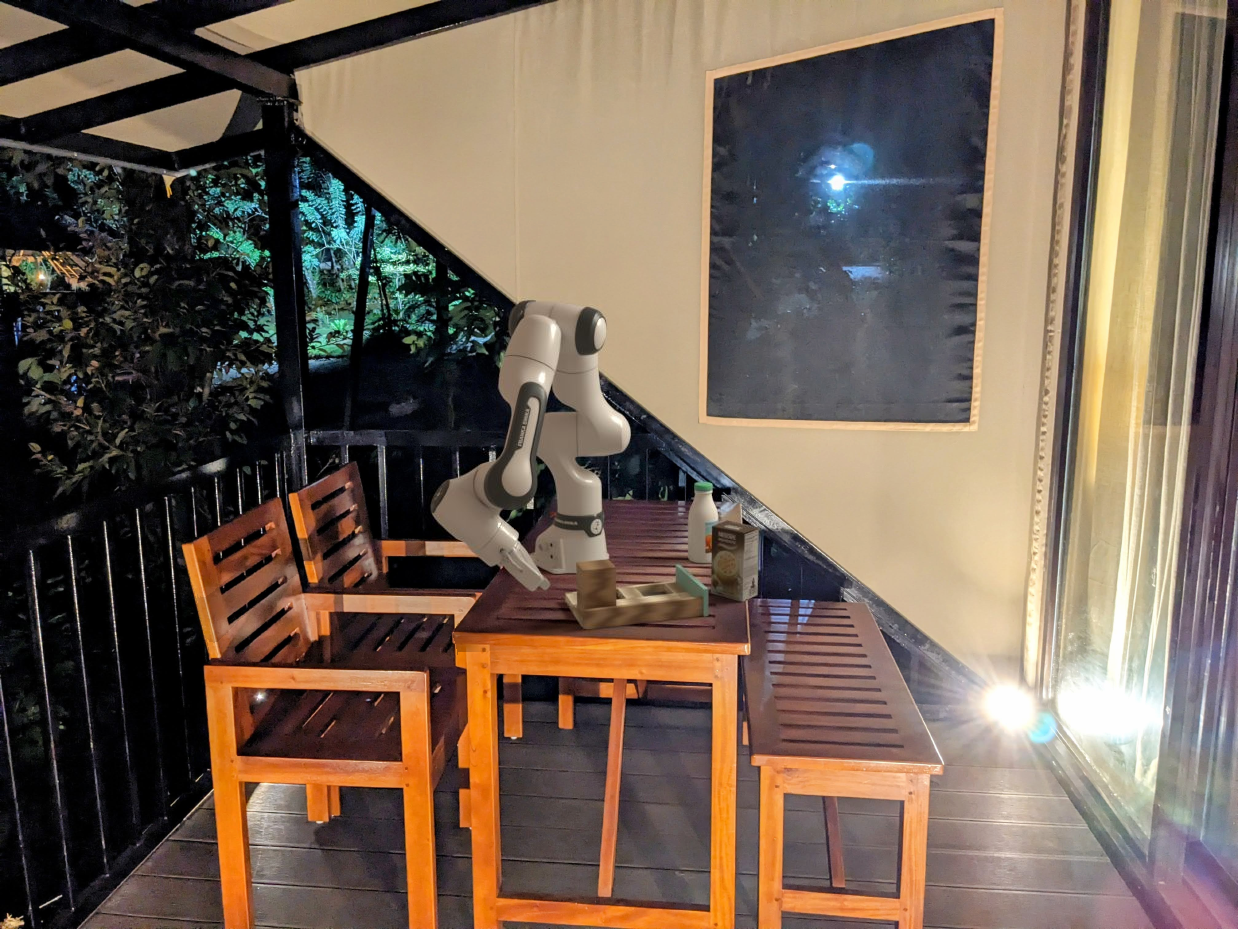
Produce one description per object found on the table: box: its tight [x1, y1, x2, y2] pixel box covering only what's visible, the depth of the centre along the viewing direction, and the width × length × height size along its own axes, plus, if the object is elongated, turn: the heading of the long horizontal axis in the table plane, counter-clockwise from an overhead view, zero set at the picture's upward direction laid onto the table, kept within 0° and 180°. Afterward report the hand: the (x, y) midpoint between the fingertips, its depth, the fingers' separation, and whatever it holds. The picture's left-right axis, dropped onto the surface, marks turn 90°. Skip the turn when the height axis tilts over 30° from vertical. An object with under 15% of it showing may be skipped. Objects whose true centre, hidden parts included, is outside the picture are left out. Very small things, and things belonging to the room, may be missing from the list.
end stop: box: [675, 564, 709, 617], centre depth 200 cm, size 1×18×6 cm, turn 16°
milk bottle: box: [687, 481, 719, 564], centre depth 229 cm, size 8×8×20 cm
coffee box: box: [710, 520, 760, 602], centre depth 204 cm, size 9×6×16 cm
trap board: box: [564, 580, 704, 630], centre depth 197 cm, size 26×18×4 cm
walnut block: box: [575, 559, 617, 614], centre depth 190 cm, size 7×6×10 cm
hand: (547, 585), depth 187 cm, fingers closed
